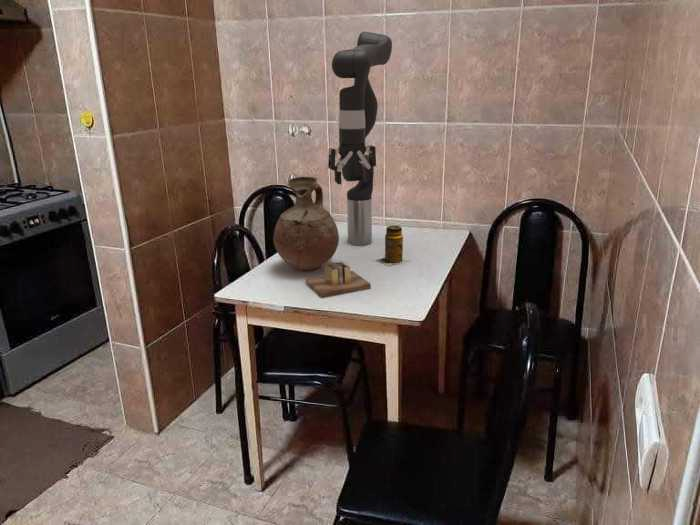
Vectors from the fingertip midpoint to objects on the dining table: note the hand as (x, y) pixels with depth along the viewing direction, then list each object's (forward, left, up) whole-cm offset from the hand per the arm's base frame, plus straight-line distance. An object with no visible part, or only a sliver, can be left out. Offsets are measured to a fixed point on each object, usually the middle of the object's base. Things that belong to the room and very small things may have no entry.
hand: (352, 182), depth 157 cm
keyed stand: (+2, -7, -31) cm, 32 cm away
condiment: (-11, +19, -31) cm, 38 cm away
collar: (+2, -7, -29) cm, 30 cm away
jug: (-19, -9, -31) cm, 37 cm away
